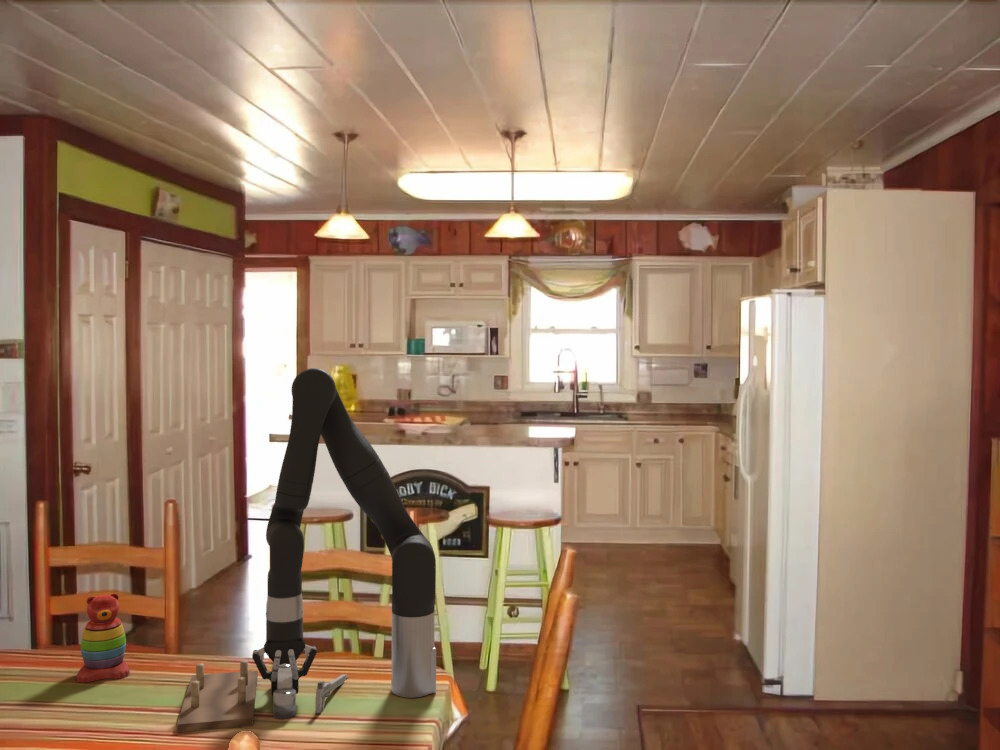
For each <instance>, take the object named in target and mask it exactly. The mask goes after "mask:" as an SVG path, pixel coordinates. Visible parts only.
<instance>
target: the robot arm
mask: <svg viewBox="0 0 1000 750" xmlns="http://www.w3.org/2000/svg"><path fill="white" fill-rule="evenodd" d="M290 390H291V396H292V397H291V398H292V404H291V405H292V407H291V408H292V410H291V411H292V412H291V423H290V430H289V436H288V440H287V444H286V449H285V454H284V455H283V456H284V457H283V460H282V464H281V468H280V472H279V477H278V482H277V486H276V487H277V488H276V493H275V499H274V500H275V501H274V502H273V503H274V504H273V506H272V509H271V513H270V514H269V515H270V516H269V519H268V522H267V527H266V532H265V534H266V535H265V539H266V540H265V541H266V542H267V544H268V546H269V557H270V558H269V559H270V560H269V564H270V565H269V570H268V574H267V594H266V595H267V597H266V607H265V608H266V609H265V611H266V612H265V617H266V618H265V619H266V621H265V622H266V623H265V625H266V627H265V629H266V630H265V632H266V633H265V634H266V637H265V643H264V645H263V647H262V648H259V649H258V650H257V649H254V650H253V651H252V654H251V656H252V660H253V661H254V664H255V666H256V668H257V670H258V672H259V674H260V676H261V678H262V680H269V681H270V689H271V690H270V694H271V696H272V697H273V693H274V691H275V690H277V682H278V678H277V675H278V669H279V665H281V664H290V666H291V671H292V689H295V690H296V695H298V694H299V681H300V678H301V677H306V676H307V675H308V673H309V671H310V668H311V666H312V664H313V662H314V660H315V657H316V655H317V653H318V651H317V647H316V645H309V644H306V641H305V640H304V601H303V585H302V583H303V581H302V580H303V579H302V578H303V577H302V568H303V560H304V551H305V539H304V538H305V537H304V533H303V531H302V529H301V525H302V521H303V515H304V511H305V510H306V508H308V505H309V503H310V499H311V495H312V490H313V489H312V488H313V483H314V477H315V472H316V465H317V456H318V451H319V444H320V438H322V440H323V442H324V444H325V447H326V448H327V452H328V455H329V456H330V458H331V461H332V464H333V465H334V467H335V470H336V471H337V474H338V476H339V477H340V479H341V481H342V482H343V484H344V486H345V487H346V489H347V491H348V492H349V495H350V496H351V497H352V498H353V500H354V501H355V502H356V504H357V505H358V507H359V508H360V509H361V510H362V511H363V512H364V514H365V515H366V516H367V517H368V518H369V519H370V520H371V521H372V523H373V524H374V525H375V527H376V528H377V530H378V531H379V533H380V535H381V538H382V540H383V541H384V543H385V545H386V547H387V549H388V552H389V554H390V557H391V682H390V683H391V692H392V694H394V695H395V696H398V697H402V698H409V699H410V698H420V697H425V696H428V695H430V694H436V692H437V648H436V646H435V616H436V615H435V608H436V606H435V603H436V591H437V590H436V589H437V588H436V586H437V583H436V581H437V575H436V573H437V564H436V563H437V562H436V561H437V559H436V554H435V551H434V548H433V546H432V544H431V543H430V541H429V540H428V538H427V537H426V535H424V533H423V532H422V530H421V529H419V527H418V526H417V524H416V523H415V521H414V520H413V519H412V517H411V516H410V514H409V513H408V511H407V509H406V507H405V504H403V503H404V502H403V501H402V499H401V496H400V494H399V492H398V490H397V489H398V488H396V485H395V483H394V482H393V480H392V477H391V476H390V474H389V472H388V470H387V468H386V466H385V465H384V463H383V462H382V460H381V458H380V456H379V455H378V453H377V451H376V450H375V449H374V447H373V445H372V444H371V443H370V441H369V440H368V439H367V438H366V436H365V435H364V434H363V433H362V431H361V430H360V429H359V427H358V426H357V425H356V423H355V422H354V421H353V419H352V417H351V416H350V415H349V413H348V411H347V409H346V406H345V405H344V402H343V400H342V398H341V396H340V394H339V392H338V388H337V385H336V383H335V380H334V378H333V377H332V375H331V374H329V372H328V371H326V370H324V369H321V368H317V367H312V368H307V369H304V370H303V371H301V372H299V373H298V374H297V375H296V376H295V378H294V379H293V382H292V384H291V389H290ZM304 651H305V652H304ZM303 652H304V654H305V655H304V656H305V658H304V659H305V660H304V662H303V664H302V666H301V668H299V669H298V663H297V660H298V659H299V657H300V656H301V654H302V653H303ZM265 654H266V655H267V656H268V657H269V659H270V660H271V661H272V666H271V667H272V668H271V671H269V670H268V668H267V666H266V665H265V662H264V659H265Z"/></svg>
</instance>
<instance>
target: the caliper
mask: <svg viewBox="0 0 1000 750" xmlns="http://www.w3.org/2000/svg"><path fill="white" fill-rule="evenodd" d="M347 677H348V678H349V676H348V675H347V674H343V673H342V674H341V675H338V677H336V678H334V679H333V680H331V681H330V682H325V681H318V682H317V688H316V689H315V715H316V714H322V712H324V710H325V703H326V698H329V697H330V696H331V692H333V691H334V690H335V689H336V688H338V687H340V686H342V685H343V684H344V683H345V682H346V681H347V679H348V678H347ZM346 678H347V679H346ZM345 680H346V681H345ZM344 681H345V682H344ZM343 682H344V683H343Z"/></svg>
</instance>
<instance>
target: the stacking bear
mask: <svg viewBox="0 0 1000 750" xmlns="http://www.w3.org/2000/svg"><path fill="white" fill-rule="evenodd" d="M86 605H87V608H86V613H87V617H88V619H89V621H88V622H87V623H86V625H85V627H84V628H83V632H82V636H81V641H80V654H81V657H82V662H83V665H82V667H80V668H79V670H78V671H77V673H76V682H77V683H82V684H83V683H91V682H94V681H99V680H105V679H114V680H115V679H116V680H117V679H118V680H119V679H123V678H126V677H127V676H129V675H130V673H131V672H130V667H129V665H128V663H127V662H126V661H124V658H125V653H126V652H125V651H126V647H127V638H126V637H127V636H126V632H125V629H124V625H123V623H122V620H121V619H120V618H118V615H119V612H120V603H119V595H118V594H117V593H111V594H99V595H97V596H92V595H91V596H89V597H88V598H86Z"/></svg>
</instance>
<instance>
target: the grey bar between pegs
mask: <svg viewBox="0 0 1000 750" xmlns="http://www.w3.org/2000/svg"><path fill="white" fill-rule="evenodd" d="M277 678H278V682H277V690H275V691H274V693H273V696H272V697H273V698H272V699H273V701H272V702H273V703H272V706H273V709H272V710H273V711H272V716H273V717H274V718H276V719H279V720H280V719H282V720H283V719H290V718H292V717H294V716H296V714H297V712H296V711H297V709H296V708H297V694H296V690H295V689H292V671H291V666H290V664H281V665H279V669H278V675H277Z"/></svg>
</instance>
